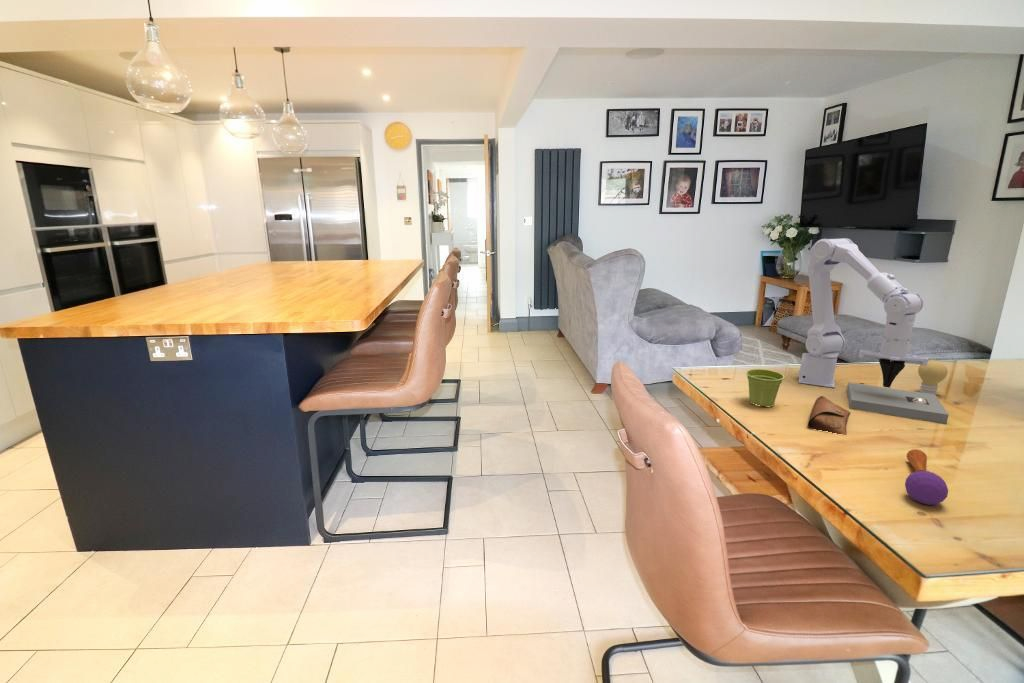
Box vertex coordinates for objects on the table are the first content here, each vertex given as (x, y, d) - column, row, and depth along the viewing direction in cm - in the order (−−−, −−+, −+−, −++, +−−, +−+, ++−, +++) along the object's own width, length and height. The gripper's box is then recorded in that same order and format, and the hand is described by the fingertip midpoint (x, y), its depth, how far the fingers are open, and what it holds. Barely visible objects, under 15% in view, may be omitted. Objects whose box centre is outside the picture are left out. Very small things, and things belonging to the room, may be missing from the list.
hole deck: (850, 408, 131) (851, 399, 130) (846, 390, 144) (848, 382, 143) (946, 423, 121) (948, 414, 120) (933, 402, 134) (935, 394, 133)
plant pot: (765, 412, 128) (769, 382, 126) (735, 401, 137) (738, 372, 134) (787, 406, 133) (792, 376, 130) (757, 395, 141) (760, 367, 138)
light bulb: (931, 390, 143) (938, 358, 141) (947, 398, 137) (955, 364, 135) (908, 389, 144) (915, 357, 141) (923, 397, 138) (931, 364, 135)
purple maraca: (940, 450, 100) (957, 487, 83) (927, 475, 101) (941, 516, 85) (905, 438, 103) (914, 472, 86) (893, 462, 104) (900, 499, 88)
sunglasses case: (848, 436, 114) (835, 411, 115) (816, 443, 118) (804, 419, 119) (851, 412, 128) (839, 389, 129) (822, 419, 133) (811, 397, 133)
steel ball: (913, 411, 129) (912, 399, 128) (910, 407, 131) (909, 396, 131) (929, 410, 127) (927, 399, 127) (926, 406, 130) (924, 395, 129)
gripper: (864, 338, 129) (855, 385, 132) (934, 345, 122) (923, 395, 125) (862, 332, 135) (853, 378, 138) (929, 339, 127) (918, 387, 131)
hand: (886, 386), depth 132 cm, fingers closed
